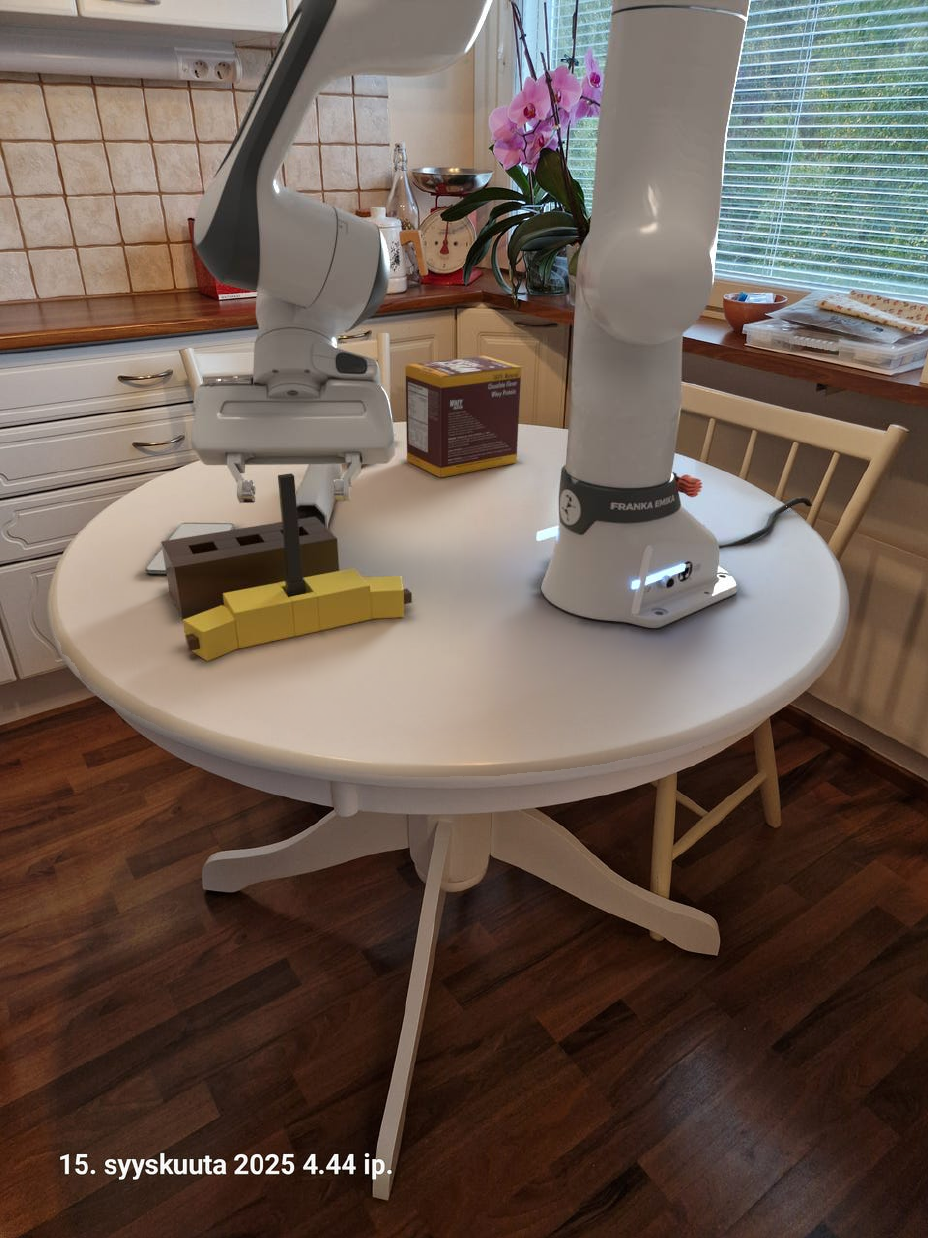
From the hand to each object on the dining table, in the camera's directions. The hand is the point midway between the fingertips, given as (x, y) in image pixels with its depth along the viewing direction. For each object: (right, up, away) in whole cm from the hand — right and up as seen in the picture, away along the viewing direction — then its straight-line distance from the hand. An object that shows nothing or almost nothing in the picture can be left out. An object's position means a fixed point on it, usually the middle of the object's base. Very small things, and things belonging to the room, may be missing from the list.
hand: (294, 499), depth 81 cm
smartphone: (-17, -3, +20) cm, 26 cm away
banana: (0, -12, +4) cm, 13 cm away
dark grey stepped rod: (0, -12, +4) cm, 13 cm away
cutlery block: (-7, -8, +11) cm, 15 cm away
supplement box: (+17, +14, +54) cm, 58 cm away
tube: (-4, +4, +34) cm, 35 cm away
